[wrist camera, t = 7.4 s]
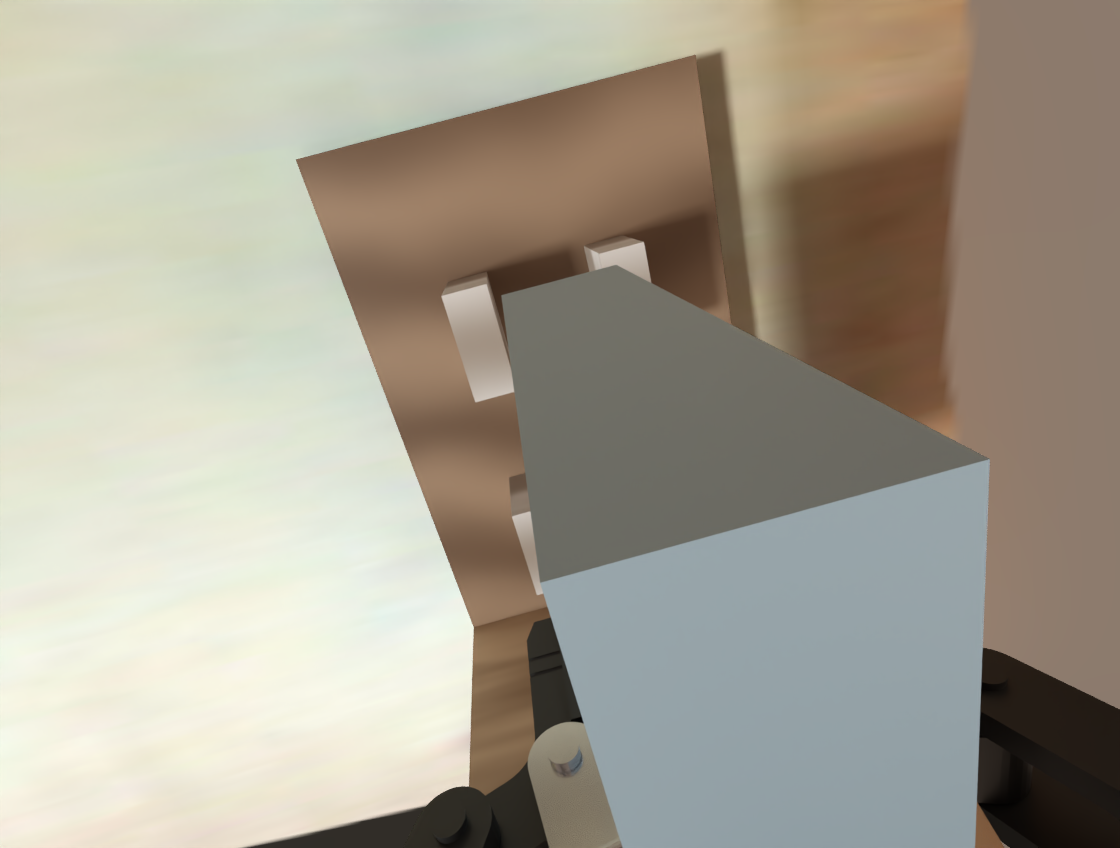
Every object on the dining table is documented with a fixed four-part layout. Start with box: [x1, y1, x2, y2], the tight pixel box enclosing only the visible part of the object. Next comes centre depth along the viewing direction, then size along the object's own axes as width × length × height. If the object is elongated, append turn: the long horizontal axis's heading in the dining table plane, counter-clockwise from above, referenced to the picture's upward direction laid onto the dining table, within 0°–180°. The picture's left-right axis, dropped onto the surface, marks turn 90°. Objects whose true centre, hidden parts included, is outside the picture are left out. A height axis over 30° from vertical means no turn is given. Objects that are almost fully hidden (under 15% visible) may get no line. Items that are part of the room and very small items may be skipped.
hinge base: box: [296, 55, 731, 795], centre depth 16 cm, size 24×15×24 cm, turn 14°
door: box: [501, 265, 990, 848], centre depth 12 cm, size 14×4×12 cm, turn 14°
